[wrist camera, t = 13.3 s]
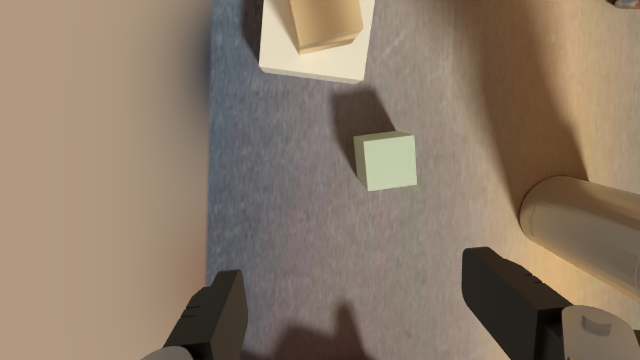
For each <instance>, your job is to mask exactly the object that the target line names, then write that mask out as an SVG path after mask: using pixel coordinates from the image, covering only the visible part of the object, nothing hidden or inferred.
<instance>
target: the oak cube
mask: <svg viewBox="0 0 640 360" xmlns="http://www.w3.org/2000/svg"><path fill="white" fill-rule="evenodd" d="M287 2H288V6H289V11H290V15H291V20H292V24H293V29H294V33H295V38H296V42H297V47H298V51H299V55H303V54H308V53H312V52H317V51H321V50H326V49H330V48H334V47H339V46H343V45H348V44H351V43H352V42H353V41H354V40H355V38H356V37H357V36H358V34H359V33H360V32H361V30H362V29H363V28H364V27H363V21H362V15H361V9H360V4H359V0H287Z"/></svg>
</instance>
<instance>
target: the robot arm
mask: <svg viewBox="0 0 640 360" xmlns="http://www.w3.org/2000/svg"><path fill="white" fill-rule="evenodd" d="M520 225H521V228H522V230H523V232H524V233H525V235H526V236H527V237H528V238H529V239H530V240H531V241H533V242H535V243H537V244H538V245H540V246H542V247H544V248H545V249H547V250H549V251H550V252H552V253H554V254H556V255H557V256H559V257H561V258H562V259H564V260H566V261H568V262H569V263H571V264H573V265H575V266H576V267H578V268H580V269H581V270H583V271H585V272H587V273H588V274H590V275H592V276H594V277H595V278H597V279H599V280H601V281H602V282H604V283H606V284H608V285H609V286H611V287H613V288H615V289H616V290H618V291H620V292H622V293H623V294H625V295H627V296H629V297H630V298H632V299H634V300H636V301H637V302H639V303H640V195H638V194H634V193H631V192H627V191H623V190H619V189H615V188H611V187H607V186H603V185H600V184H596V183H592V182H588V181H584V180H580V179H576V178H572V177H569V176H555V177H551V178H548V179H545V180H544V181H542V182H540V183H538V184H537V185H536V186H535V187H533V188H532V189H531V191H530V192H529V193H528V194H527V196H526V197H525V199H524V201H523V203H522V206H521V209H520ZM462 294H463V298H464V301H465V303H466V304H467V306H468V307H469V308H470V310H471V311H472V312H473V313H474V315H475V316H476V317H477V318H478V320H479V321H480V322H481V323H482V325H483V326H484V327H485V328H486V330H487V331H488V332H489V333H490V334H491V336H492V337H493V338H494V339H495V341H496V342H497V343H498V344H499V346H500V347H501V348H502V349H503V351H504V352H505V353H506V354H507V356H508V357H509V358H510V359H511V360H640V330H633V329H632V328H631V326H630V325H629V324H628V323H626V322H625V321H624V320H622V319H621V318H619V317H617V316H616V315H614V314H611V313H609V312H607V311H604V310H601V309H598V308H594V307H590V306H583V305H573V304H572V303H570V302H569V301H568V300H566V299H565V298H564V297H562V296H561V295H560V294H558V293H557V292H556V291H554V290H553V289H552V288H550V287H549V286H548V285H546V284H545V283H542V281H541V280H540V279H538V278H537V277H536V276H533V275H532V273H530V272H529V271H528V270H526V269H525V268H524V267H522V266H521V265H519V264H516V263H514V262H512V261H509V260H507V259H503V258H502V257H501V256H499V255H498V254H497V253H496V252H494V251H493V250H492V249H490V248H489V247H476V248H466V249H465V250H464V251H463V257H462ZM247 323H248V308H247V302H246V295H245V288H244V282H243V275H242V272H241V270H240V269H239V270H228V271H219V272H218V273H217V275H216V277H215V279H214V281H213V283H212V285H211V287H203V288H202V289H201V290H199V291H198V292H197V293H196V294H195V295H194V296H192V298H191V299H190V301H189V303H188V305H187V306H186V309H185V310H184V312H183V313H182V315H181V318H180V319H179V320H178V322H177V324H176V325H175V327H174V329H173V330H172V332H171V334H170V336H169V337H168V339H167V341H166V343H165V344H164V346H163V348H161V349H159V350H156V351H154V352H152V353H150V354H149V355H147V356H145V357H144V358H143V359H141V360H239V356H240V352H241V348H242V345H243V341H244V337H245V333H246V329H247Z"/></svg>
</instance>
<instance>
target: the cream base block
mask: <svg viewBox="0 0 640 360" xmlns="http://www.w3.org/2000/svg"><path fill="white" fill-rule="evenodd" d="M374 2H375V0H359V4H360V9H361V15H362V21H363V27H364V28H363V29H362V30H361V32H360V33H359V34H358V36H357V37H356V38H355V40H354V41H353V42H352V43H351V44H348V45H343V46H339V47H334V48H330V49H326V50H321V51H317V52H312V53H308V54H303V55H299V51H298V47H297V42H296V38H295V33H294V29H293V24H292V20H291V15H290V11H289V6H288V2H287V0H264V6H263V19H262V32H261V45H260V59H259V67H260V68H261V69H262V70H263V71H264V72H267V73H274V74H282V75H289V76H297V77H305V78H312V79H320V80H327V81H335V82H342V83H350V84H356V83H359V82H361V81H363V79H364V72H365V65H366V58H367V51H368V44H369V37H370V30H371V23H372V16H373V9H374Z"/></svg>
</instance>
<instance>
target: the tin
mask: <svg viewBox="0 0 640 360" xmlns="http://www.w3.org/2000/svg"><path fill="white" fill-rule="evenodd" d="M615 6H616V7H617V8H621V9H640V0H616V2H615Z"/></svg>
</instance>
